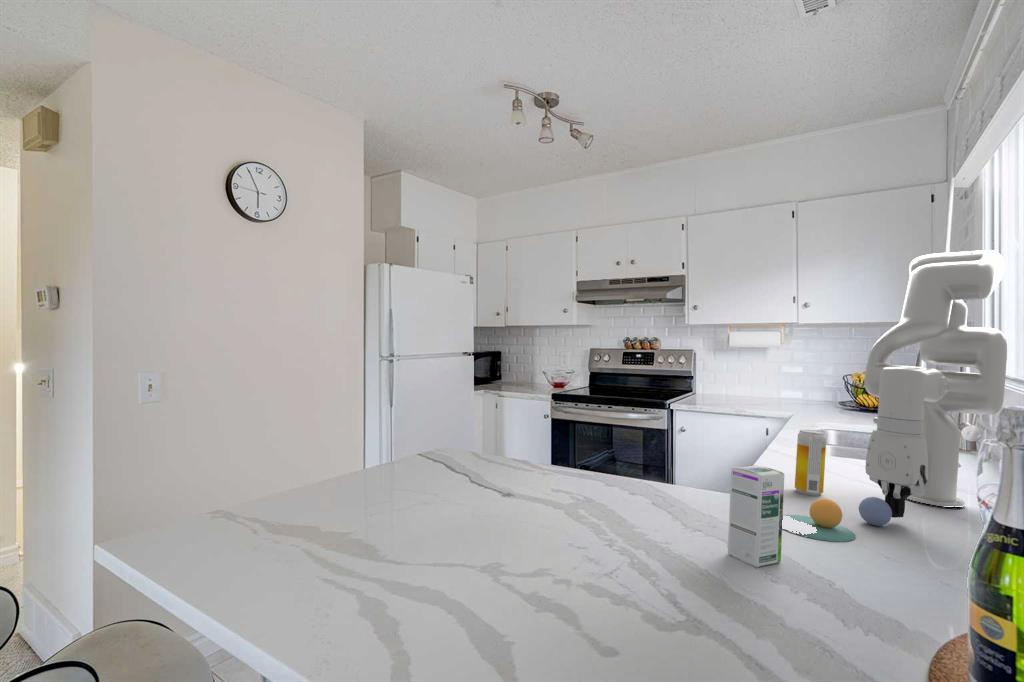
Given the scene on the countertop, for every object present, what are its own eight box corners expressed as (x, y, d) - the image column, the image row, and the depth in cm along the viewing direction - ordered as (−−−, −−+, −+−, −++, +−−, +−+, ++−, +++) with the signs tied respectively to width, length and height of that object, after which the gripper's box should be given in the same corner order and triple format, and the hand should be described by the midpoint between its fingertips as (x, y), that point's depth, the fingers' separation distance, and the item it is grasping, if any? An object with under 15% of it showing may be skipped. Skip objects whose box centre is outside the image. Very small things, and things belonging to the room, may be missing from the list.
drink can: (815, 490, 131) (819, 430, 131) (827, 497, 125) (831, 434, 125) (790, 488, 131) (793, 428, 131) (801, 495, 125) (804, 432, 125)
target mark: (773, 511, 111) (773, 510, 111) (851, 525, 104) (851, 524, 104) (770, 530, 99) (770, 529, 99) (859, 548, 92) (859, 547, 92)
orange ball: (816, 495, 107) (802, 518, 106) (821, 490, 102) (806, 513, 101) (844, 512, 104) (830, 535, 103) (850, 507, 99) (836, 532, 98)
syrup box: (757, 568, 81) (762, 474, 81) (725, 553, 86) (731, 465, 86) (781, 563, 83) (786, 472, 83) (749, 549, 89) (754, 463, 89)
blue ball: (860, 491, 110) (853, 517, 109) (865, 493, 105) (858, 520, 104) (891, 502, 107) (884, 528, 107) (898, 504, 102) (890, 532, 102)
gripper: (852, 420, 114) (847, 505, 114) (923, 433, 99) (918, 530, 99) (878, 421, 116) (873, 504, 116) (952, 433, 102) (946, 528, 102)
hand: (894, 515), depth 108 cm, fingers closed
